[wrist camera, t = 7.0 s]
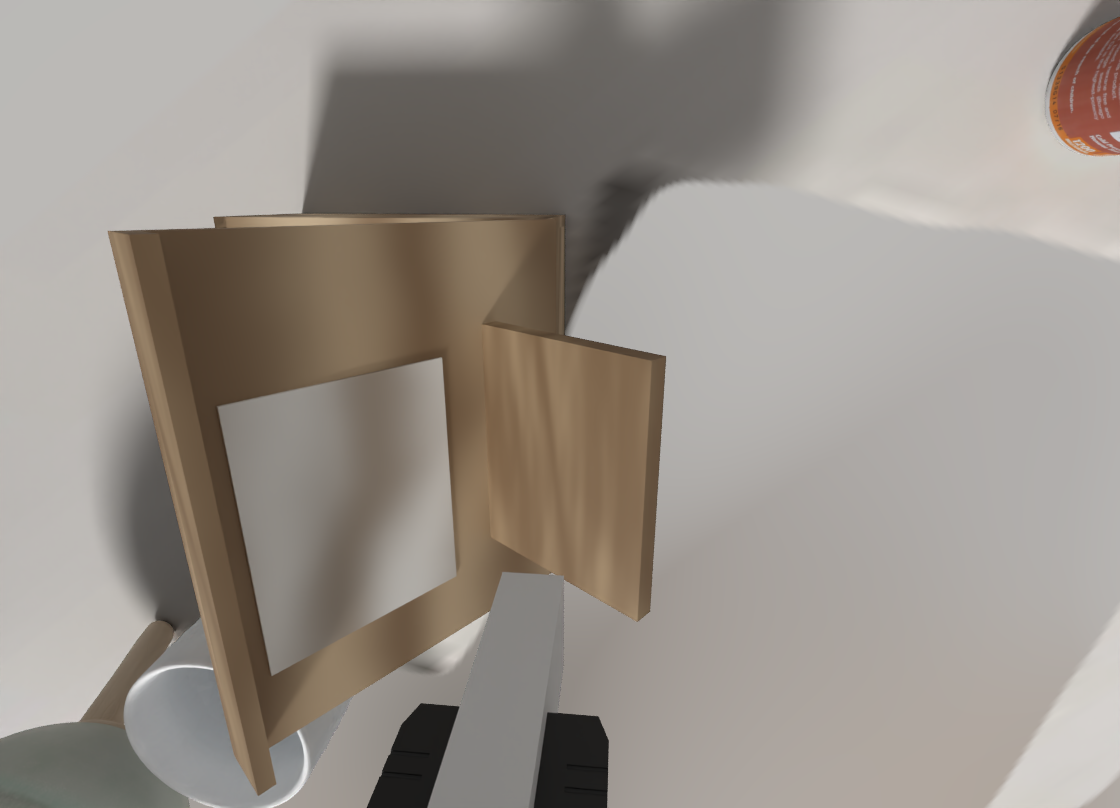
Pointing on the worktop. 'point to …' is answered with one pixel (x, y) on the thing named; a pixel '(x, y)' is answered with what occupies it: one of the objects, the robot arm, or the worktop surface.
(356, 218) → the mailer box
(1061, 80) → the pill bottle
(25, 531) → the worktop surface
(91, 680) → the worktop surface
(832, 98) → the worktop surface
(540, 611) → the robot arm
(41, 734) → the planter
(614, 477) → the lid
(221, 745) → the mug
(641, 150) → the worktop surface
